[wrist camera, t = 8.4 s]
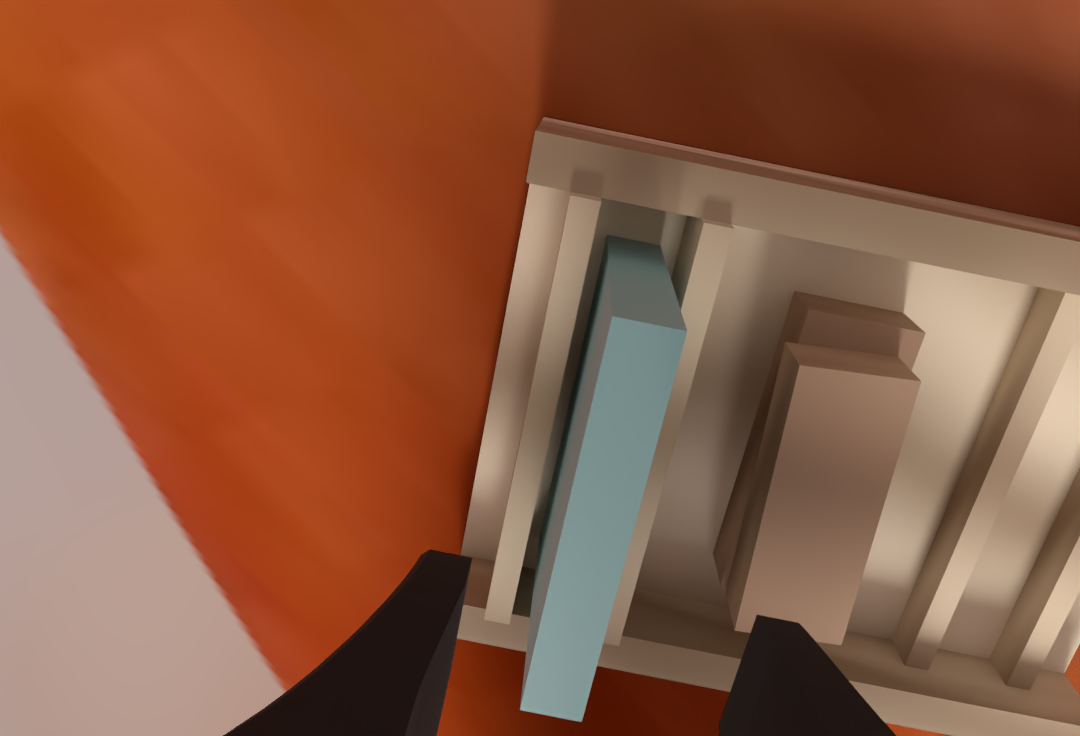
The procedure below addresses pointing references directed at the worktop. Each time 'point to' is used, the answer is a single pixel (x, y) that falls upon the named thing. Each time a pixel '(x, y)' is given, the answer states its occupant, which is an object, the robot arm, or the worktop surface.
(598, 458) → the teal rectangular plate
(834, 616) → the offcut upper
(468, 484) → the worktop surface
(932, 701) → the rack
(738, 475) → the offcut lower
